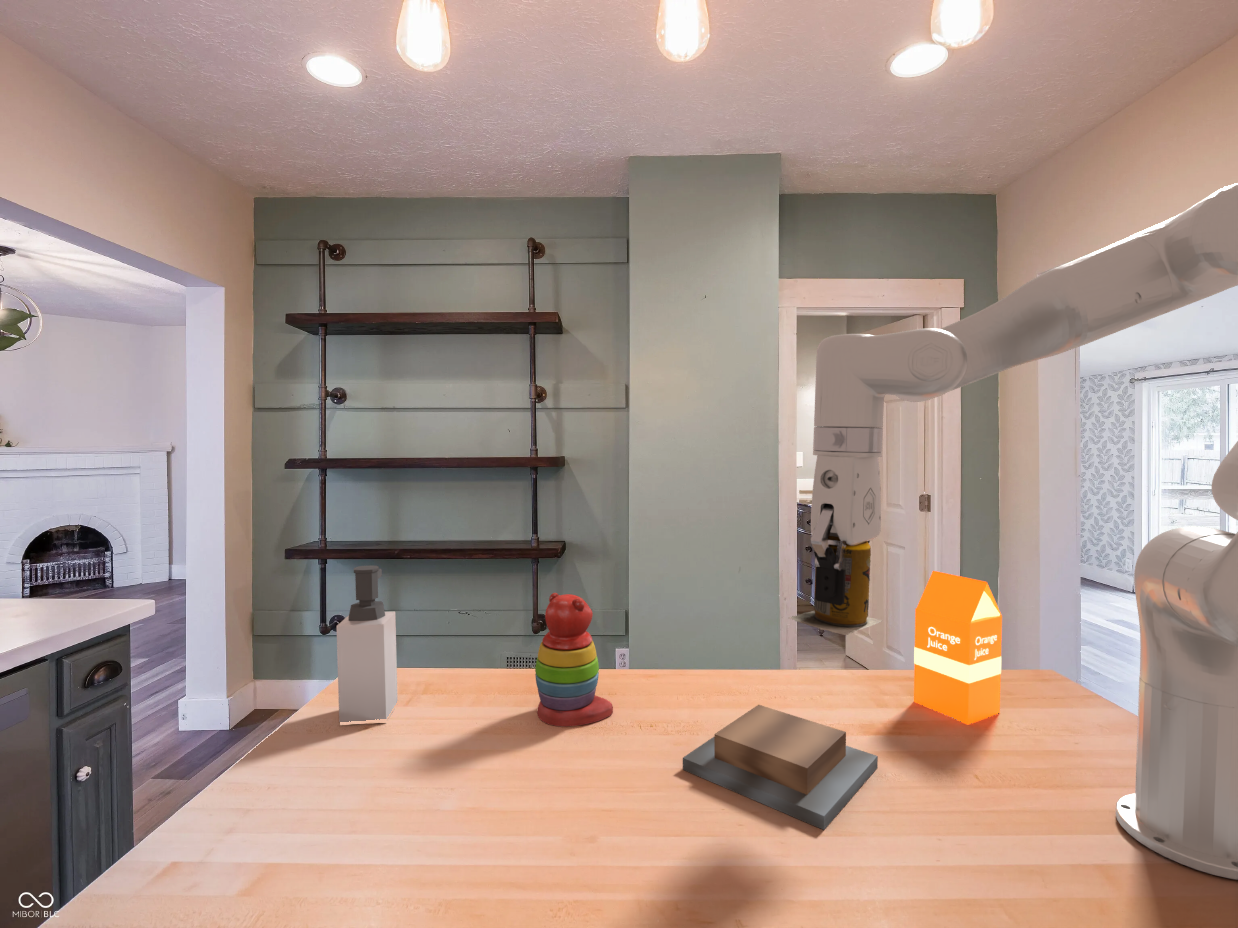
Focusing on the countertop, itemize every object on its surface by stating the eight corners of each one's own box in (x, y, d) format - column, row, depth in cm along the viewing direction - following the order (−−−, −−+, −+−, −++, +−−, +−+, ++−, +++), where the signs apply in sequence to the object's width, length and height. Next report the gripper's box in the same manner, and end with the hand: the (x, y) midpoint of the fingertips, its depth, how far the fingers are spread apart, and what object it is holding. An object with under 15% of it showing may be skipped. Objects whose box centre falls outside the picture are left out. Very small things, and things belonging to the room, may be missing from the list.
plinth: (877, 767, 77) (878, 731, 77) (823, 829, 65) (824, 787, 65) (748, 723, 89) (748, 692, 89) (682, 769, 77) (682, 733, 77)
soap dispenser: (401, 697, 98) (398, 559, 97) (386, 723, 90) (382, 571, 89) (358, 699, 98) (355, 560, 97) (339, 725, 89) (334, 573, 88)
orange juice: (967, 725, 88) (970, 585, 87) (912, 701, 96) (914, 572, 95) (1001, 713, 92) (1004, 578, 91) (945, 691, 99) (947, 567, 99)
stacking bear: (619, 712, 93) (618, 594, 92) (567, 736, 85) (566, 608, 85) (571, 691, 100) (570, 582, 99) (520, 712, 93) (518, 594, 92)
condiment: (882, 621, 73) (886, 520, 72) (845, 636, 67) (849, 526, 67) (826, 607, 78) (829, 513, 78) (787, 620, 73) (790, 518, 72)
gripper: (851, 445, 63) (844, 619, 64) (904, 444, 76) (898, 589, 77) (782, 443, 68) (777, 605, 69) (843, 442, 81) (838, 578, 82)
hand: (841, 595), depth 73 cm, fingers closed on condiment, 6 cm apart
